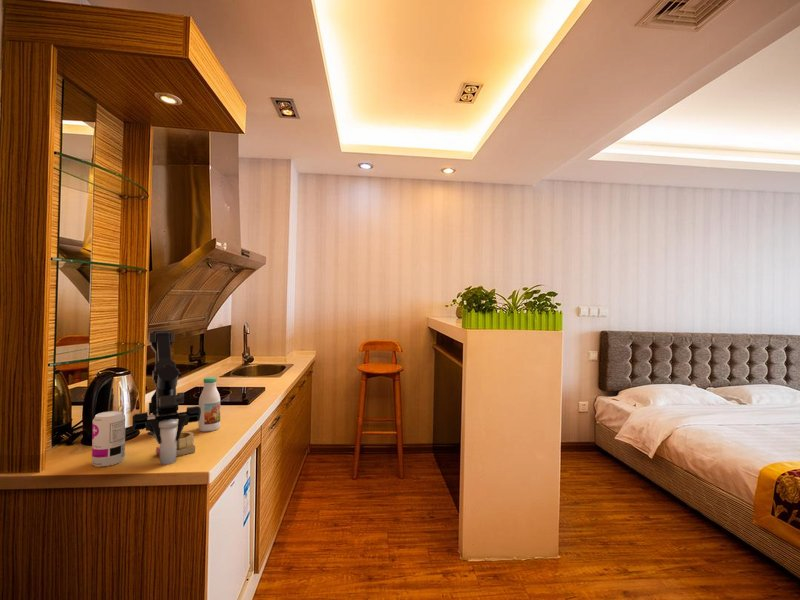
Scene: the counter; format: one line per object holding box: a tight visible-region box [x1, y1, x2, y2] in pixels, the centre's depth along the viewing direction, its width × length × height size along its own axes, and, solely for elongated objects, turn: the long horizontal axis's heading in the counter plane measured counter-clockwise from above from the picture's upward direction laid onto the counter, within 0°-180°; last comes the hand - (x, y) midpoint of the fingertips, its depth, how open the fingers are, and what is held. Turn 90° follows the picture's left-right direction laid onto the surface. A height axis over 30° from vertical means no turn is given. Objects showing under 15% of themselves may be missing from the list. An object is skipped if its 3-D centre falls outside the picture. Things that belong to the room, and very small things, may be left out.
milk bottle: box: [197, 376, 221, 433], centre depth 156 cm, size 8×8×20 cm
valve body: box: [155, 431, 196, 457], centre depth 133 cm, size 14×11×5 cm
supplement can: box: [91, 410, 126, 467], centre depth 123 cm, size 8×8×15 cm
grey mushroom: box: [159, 419, 178, 466], centre depth 124 cm, size 5×5×12 cm
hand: (168, 442), depth 122 cm, fingers closed on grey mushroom, 4 cm apart
